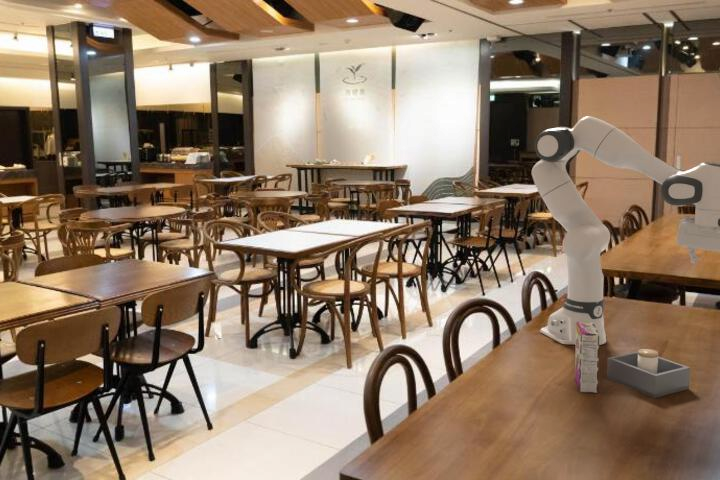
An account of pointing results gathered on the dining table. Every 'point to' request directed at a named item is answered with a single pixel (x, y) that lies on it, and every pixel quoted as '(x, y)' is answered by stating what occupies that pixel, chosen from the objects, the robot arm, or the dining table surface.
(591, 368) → the candy bar box
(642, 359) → the jar
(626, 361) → the tote
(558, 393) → the dining table surface
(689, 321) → the dining table surface
